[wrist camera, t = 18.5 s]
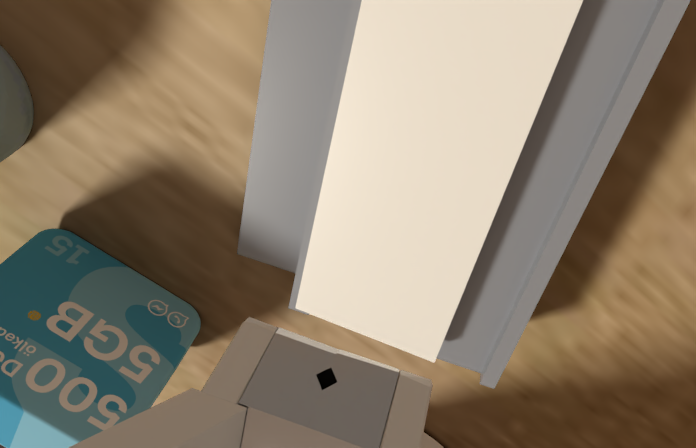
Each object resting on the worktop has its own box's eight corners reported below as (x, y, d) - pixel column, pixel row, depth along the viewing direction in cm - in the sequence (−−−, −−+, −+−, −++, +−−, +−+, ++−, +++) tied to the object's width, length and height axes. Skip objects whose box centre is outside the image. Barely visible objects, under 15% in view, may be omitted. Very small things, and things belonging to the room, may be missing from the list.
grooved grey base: (499, 329, 38) (494, 388, 34) (243, 244, 39) (209, 292, 35) (686, -66, 25) (712, -44, 22) (301, -168, 27) (260, -165, 23)
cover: (437, 352, 34) (434, 362, 33) (300, 299, 35) (295, 308, 34) (598, -42, 23) (599, -38, 22) (388, -101, 24) (383, -99, 23)
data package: (210, 314, 43) (112, 461, 34) (187, 352, 46) (90, 498, 36) (53, 218, 42) (-95, 340, 32) (38, 262, 45) (-103, 387, 35)
